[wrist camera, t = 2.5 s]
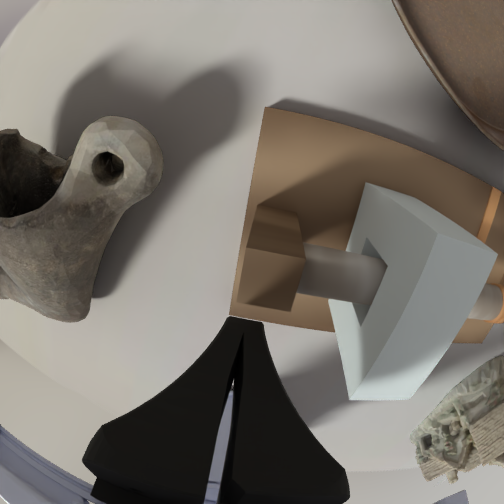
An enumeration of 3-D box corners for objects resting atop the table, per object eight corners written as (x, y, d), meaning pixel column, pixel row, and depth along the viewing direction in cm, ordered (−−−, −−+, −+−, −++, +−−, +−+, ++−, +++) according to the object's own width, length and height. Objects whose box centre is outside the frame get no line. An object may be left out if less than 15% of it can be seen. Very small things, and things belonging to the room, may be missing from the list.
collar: (372, 307, 15) (409, 399, 9) (328, 300, 15) (349, 400, 9) (414, 197, 12) (498, 254, 6) (365, 182, 12) (437, 233, 6)
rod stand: (476, 336, 18) (506, 384, 12) (231, 305, 18) (212, 380, 12) (532, 213, 12) (582, 245, 7) (265, 108, 13) (256, 90, 7)
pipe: (153, 220, 24) (152, 66, 12) (175, 311, 21) (176, 163, 8) (5, 254, 18) (-67, 138, 6) (4, 344, 15) (-116, 258, 2)
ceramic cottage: (515, 340, 18) (561, 445, 4) (497, 398, 23) (520, 474, 10) (398, 403, 23) (414, 527, 10) (411, 441, 29) (421, 522, 16)
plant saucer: (521, -5, 4) (539, -10, 1) (547, 172, 11) (571, 181, 8) (343, -85, 5) (351, -106, 2) (379, 128, 13) (402, 128, 10)
